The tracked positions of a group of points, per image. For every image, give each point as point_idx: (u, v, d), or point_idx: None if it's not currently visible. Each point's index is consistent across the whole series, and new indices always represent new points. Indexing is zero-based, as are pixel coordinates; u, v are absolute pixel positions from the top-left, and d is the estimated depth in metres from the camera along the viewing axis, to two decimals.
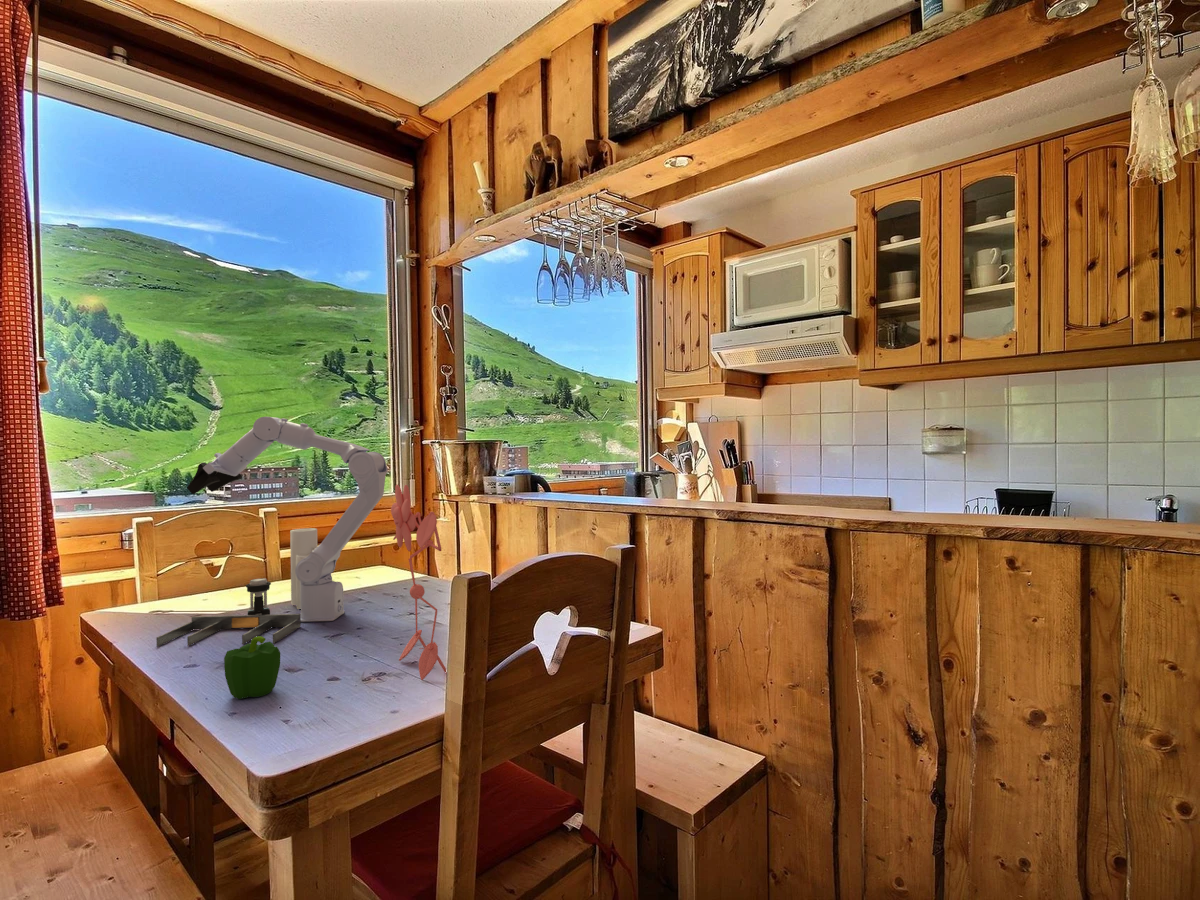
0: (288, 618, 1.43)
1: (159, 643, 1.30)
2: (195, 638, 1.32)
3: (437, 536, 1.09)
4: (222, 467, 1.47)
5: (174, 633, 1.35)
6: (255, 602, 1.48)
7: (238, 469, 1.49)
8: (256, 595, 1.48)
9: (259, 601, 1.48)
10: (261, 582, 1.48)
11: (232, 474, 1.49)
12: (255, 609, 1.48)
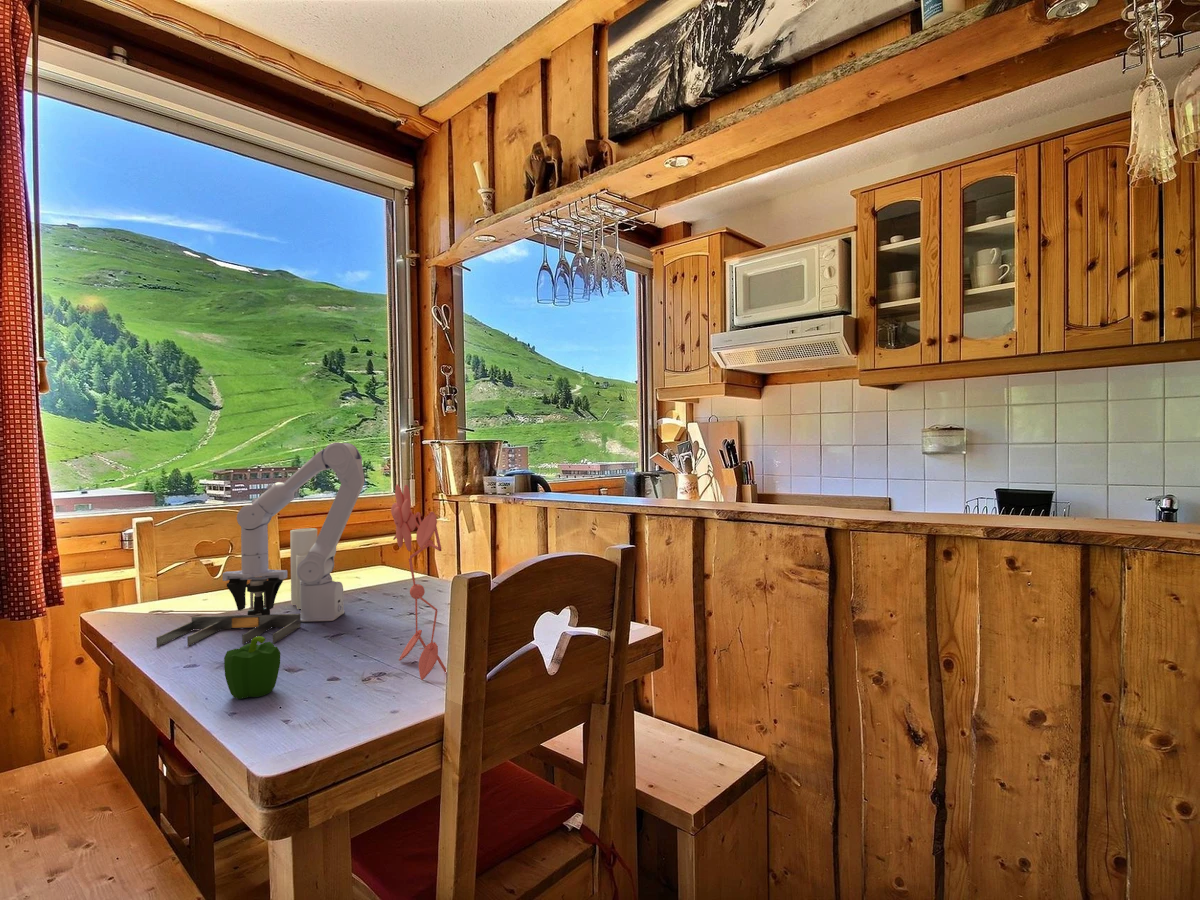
0: (288, 618, 1.43)
1: (159, 643, 1.30)
2: (195, 638, 1.32)
3: (437, 536, 1.09)
4: (269, 571, 1.49)
5: (174, 633, 1.35)
6: (255, 602, 1.48)
7: None
8: (256, 595, 1.48)
9: (259, 601, 1.48)
10: (261, 582, 1.48)
11: None
12: (255, 609, 1.48)
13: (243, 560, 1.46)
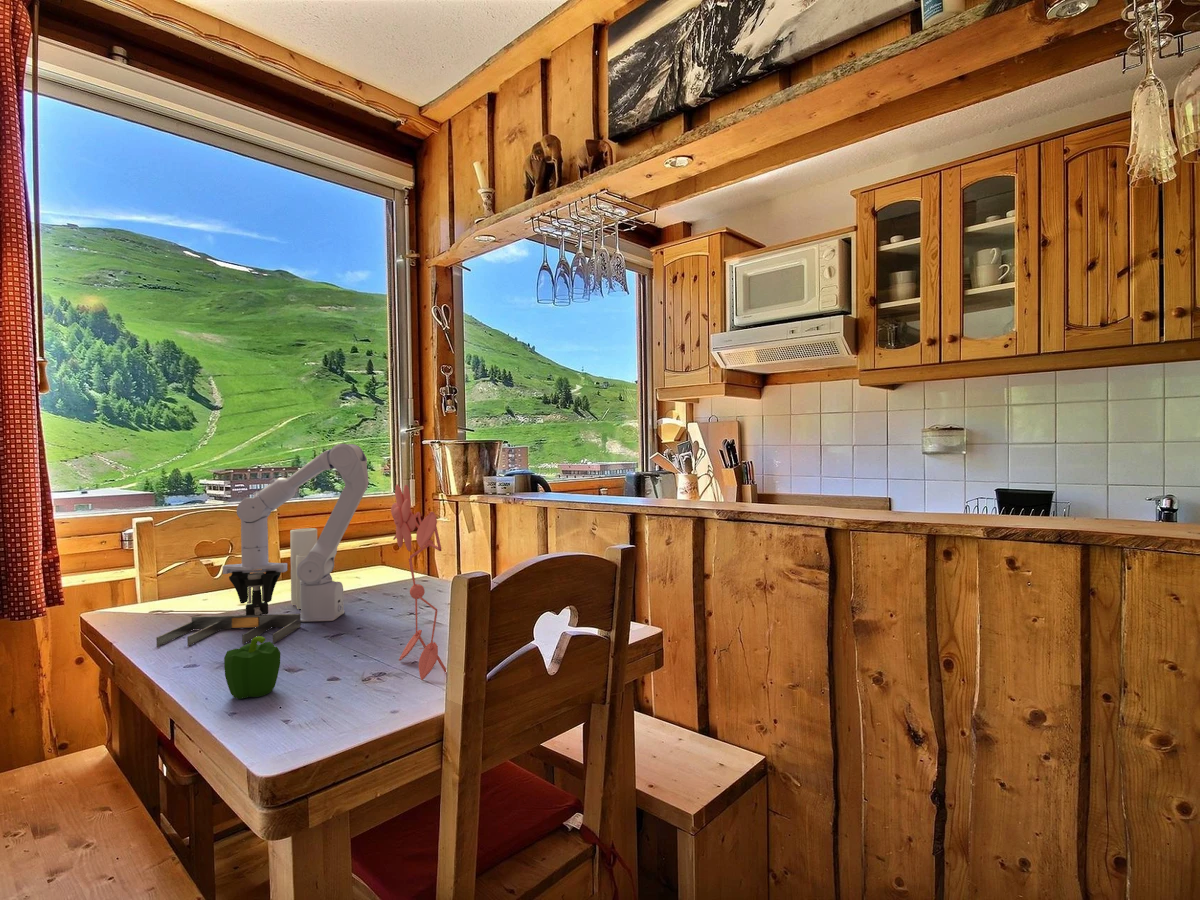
0: (288, 618, 1.43)
1: (159, 643, 1.30)
2: (195, 638, 1.32)
3: (437, 536, 1.09)
4: (269, 564, 1.49)
5: (174, 633, 1.35)
6: (253, 596, 1.48)
7: None
8: (254, 589, 1.48)
9: (257, 595, 1.48)
10: (259, 576, 1.48)
11: None
12: (253, 603, 1.47)
13: (243, 553, 1.46)
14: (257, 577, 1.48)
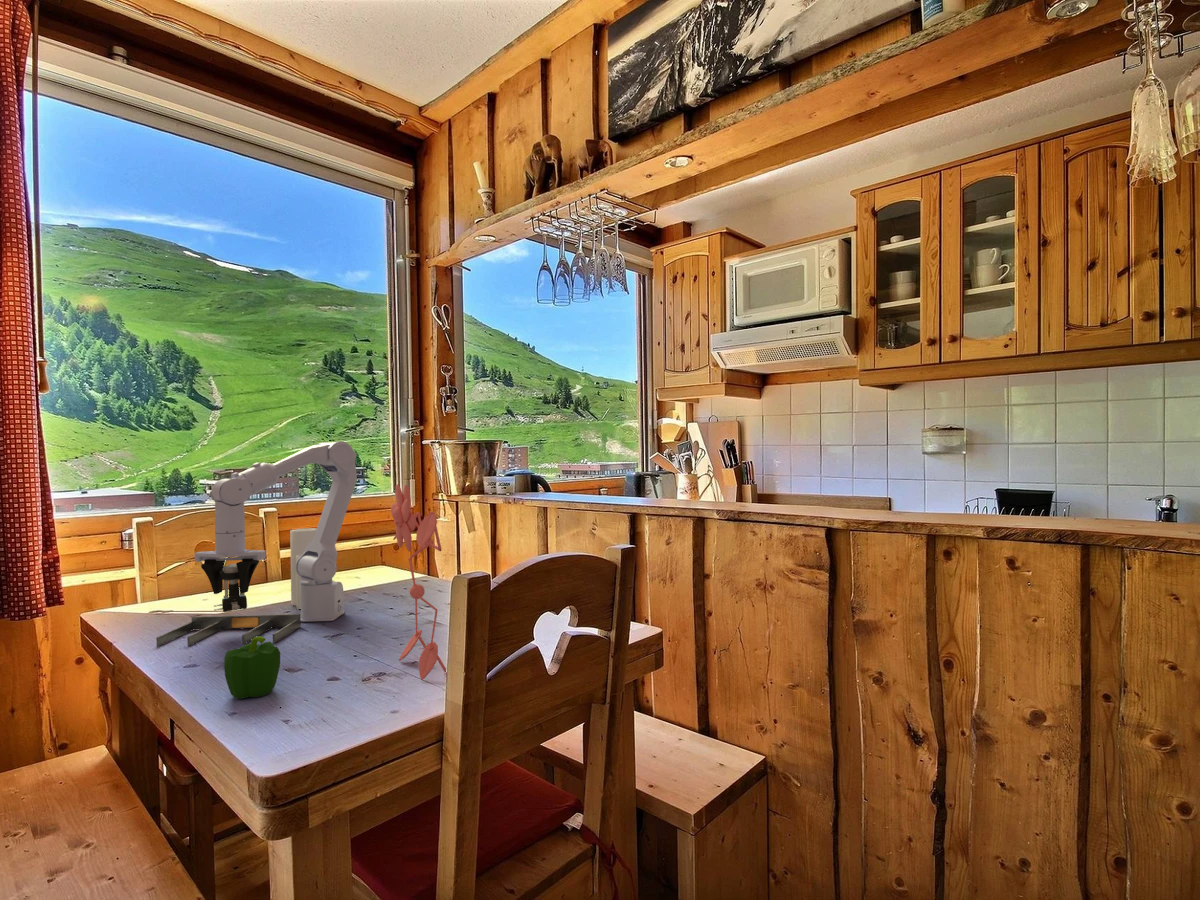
0: (288, 618, 1.43)
1: (159, 643, 1.30)
2: (195, 638, 1.32)
3: (437, 536, 1.09)
4: (245, 552, 1.37)
5: (174, 633, 1.35)
6: (230, 590, 1.37)
7: None
8: (231, 582, 1.37)
9: (234, 589, 1.37)
10: (236, 569, 1.36)
11: None
12: (230, 597, 1.36)
13: (217, 539, 1.34)
14: (234, 570, 1.36)
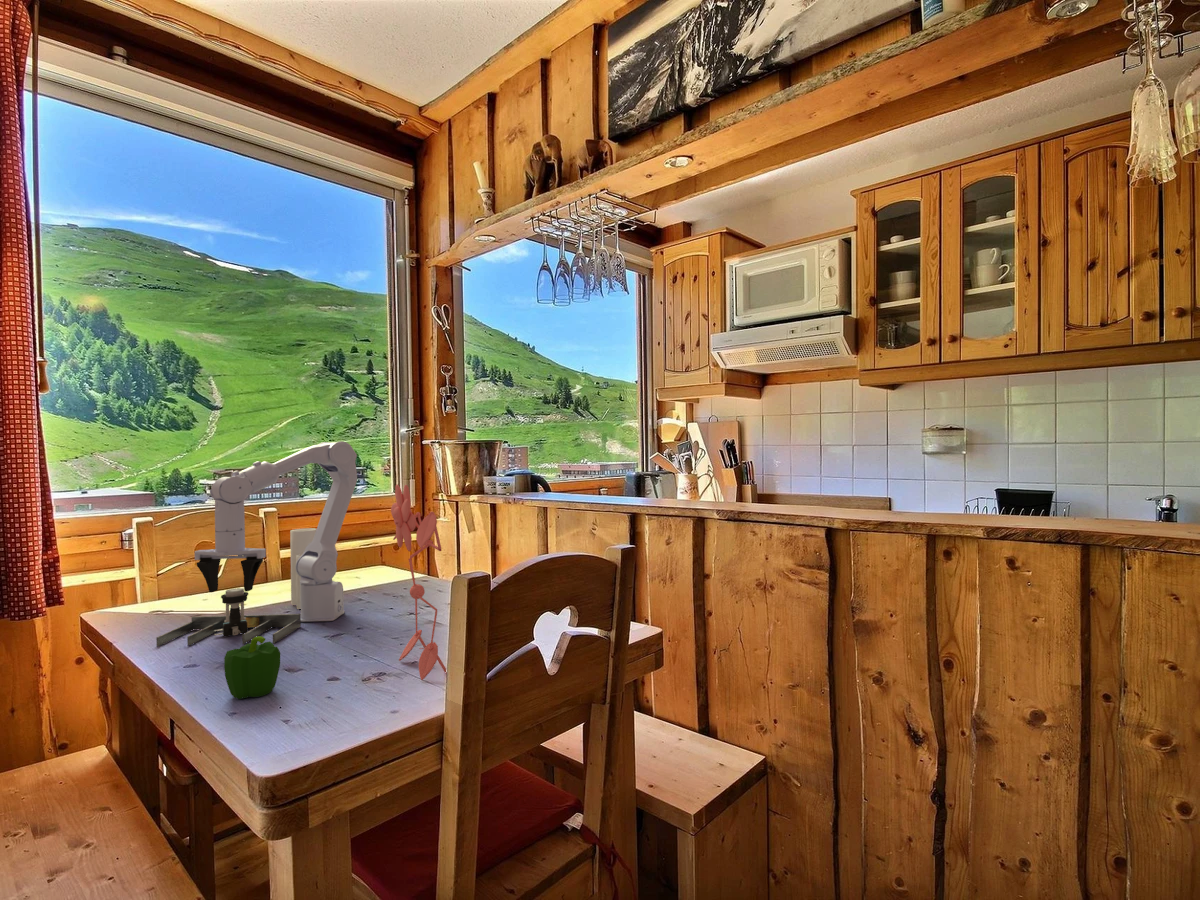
0: (288, 618, 1.43)
1: (159, 643, 1.30)
2: (195, 638, 1.32)
3: (437, 536, 1.09)
4: None
5: (174, 633, 1.35)
6: (231, 614, 1.37)
7: None
8: (232, 607, 1.37)
9: (235, 613, 1.37)
10: (238, 593, 1.37)
11: None
12: (231, 622, 1.37)
13: (217, 537, 1.34)
14: (236, 594, 1.37)
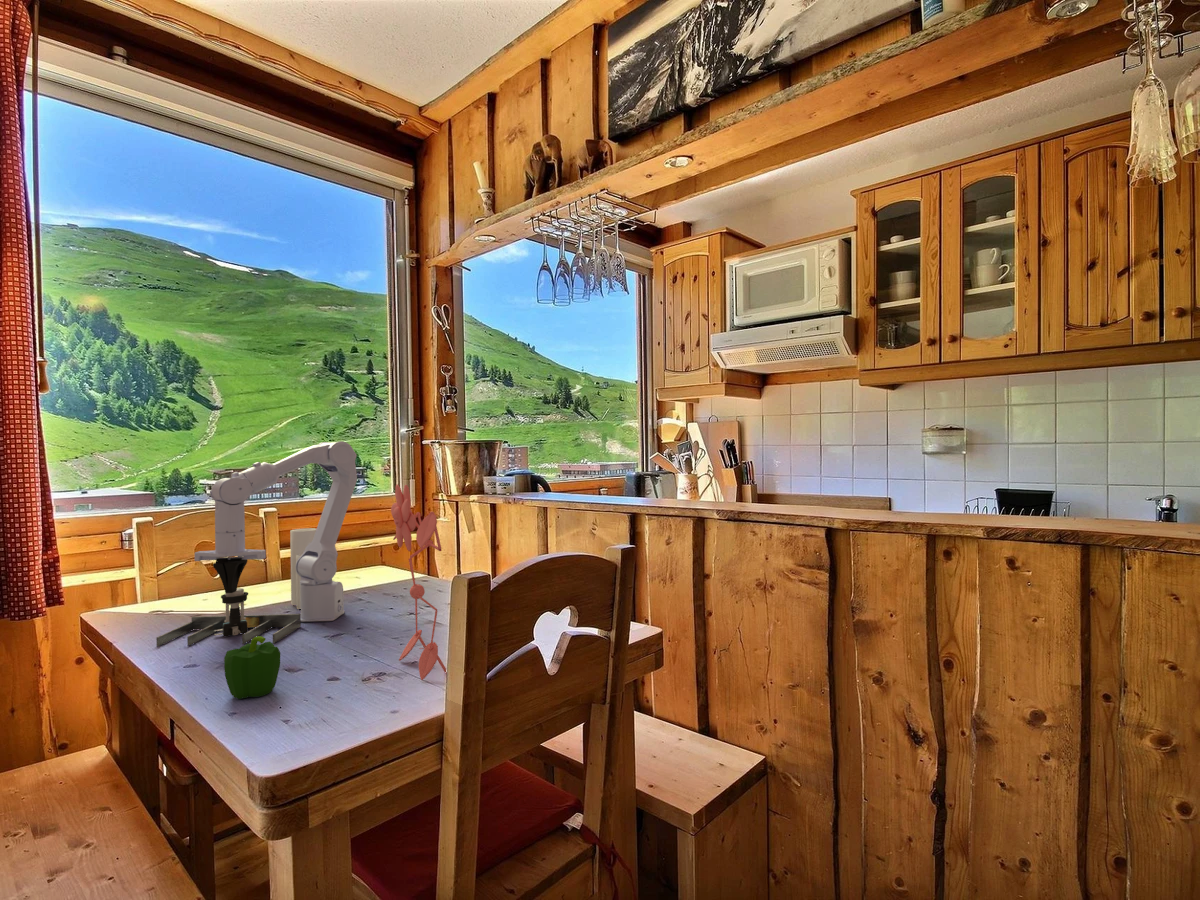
0: (288, 618, 1.43)
1: (159, 643, 1.30)
2: (195, 638, 1.32)
3: (437, 536, 1.09)
4: (245, 551, 1.37)
5: (174, 633, 1.35)
6: (231, 614, 1.37)
7: None
8: (232, 607, 1.37)
9: (235, 613, 1.37)
10: (237, 592, 1.37)
11: None
12: (231, 622, 1.37)
13: (217, 538, 1.34)
14: (235, 594, 1.37)
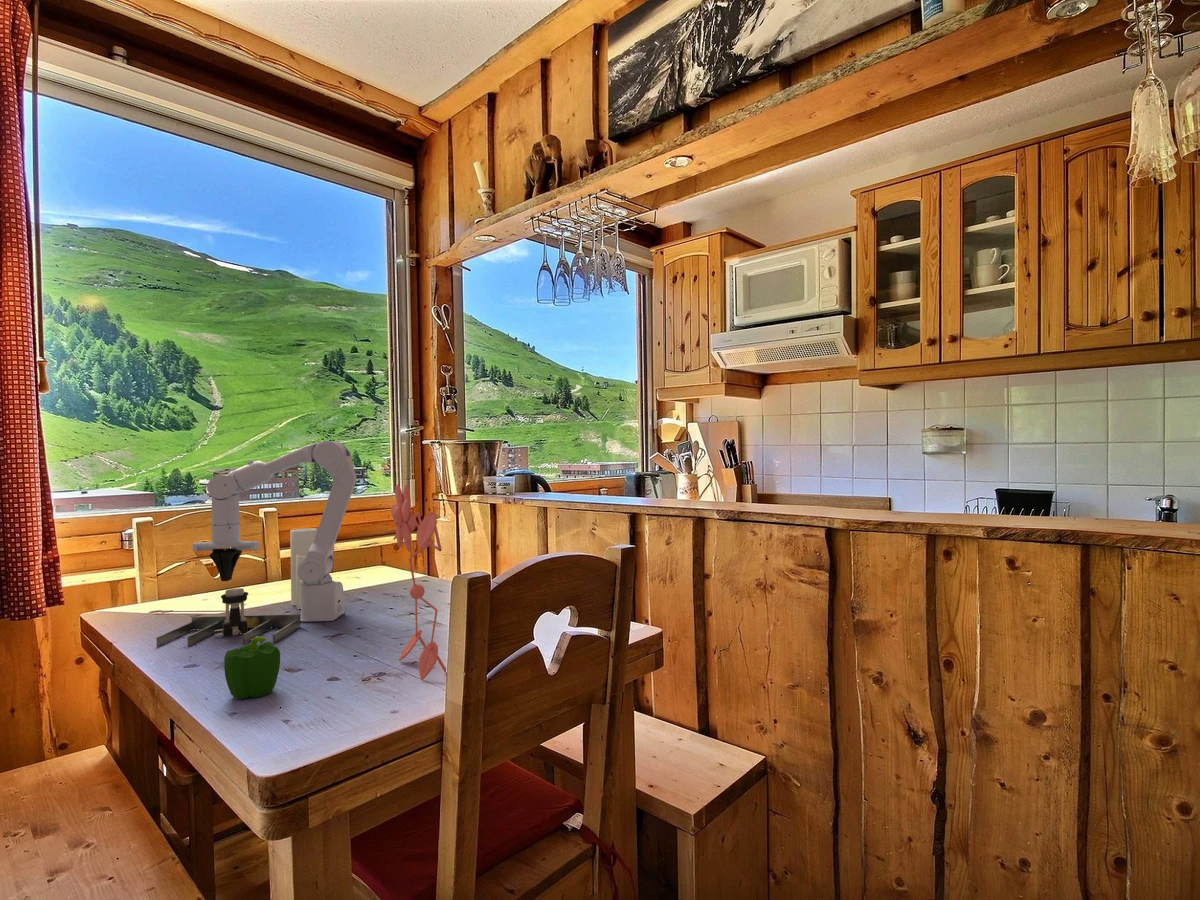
0: (288, 618, 1.43)
1: (159, 643, 1.30)
2: (195, 638, 1.32)
3: (437, 536, 1.09)
4: (240, 542, 1.47)
5: (174, 633, 1.35)
6: (231, 614, 1.37)
7: None
8: (232, 606, 1.37)
9: (235, 613, 1.37)
10: (237, 592, 1.37)
11: None
12: (231, 622, 1.37)
13: (213, 530, 1.44)
14: (235, 594, 1.37)
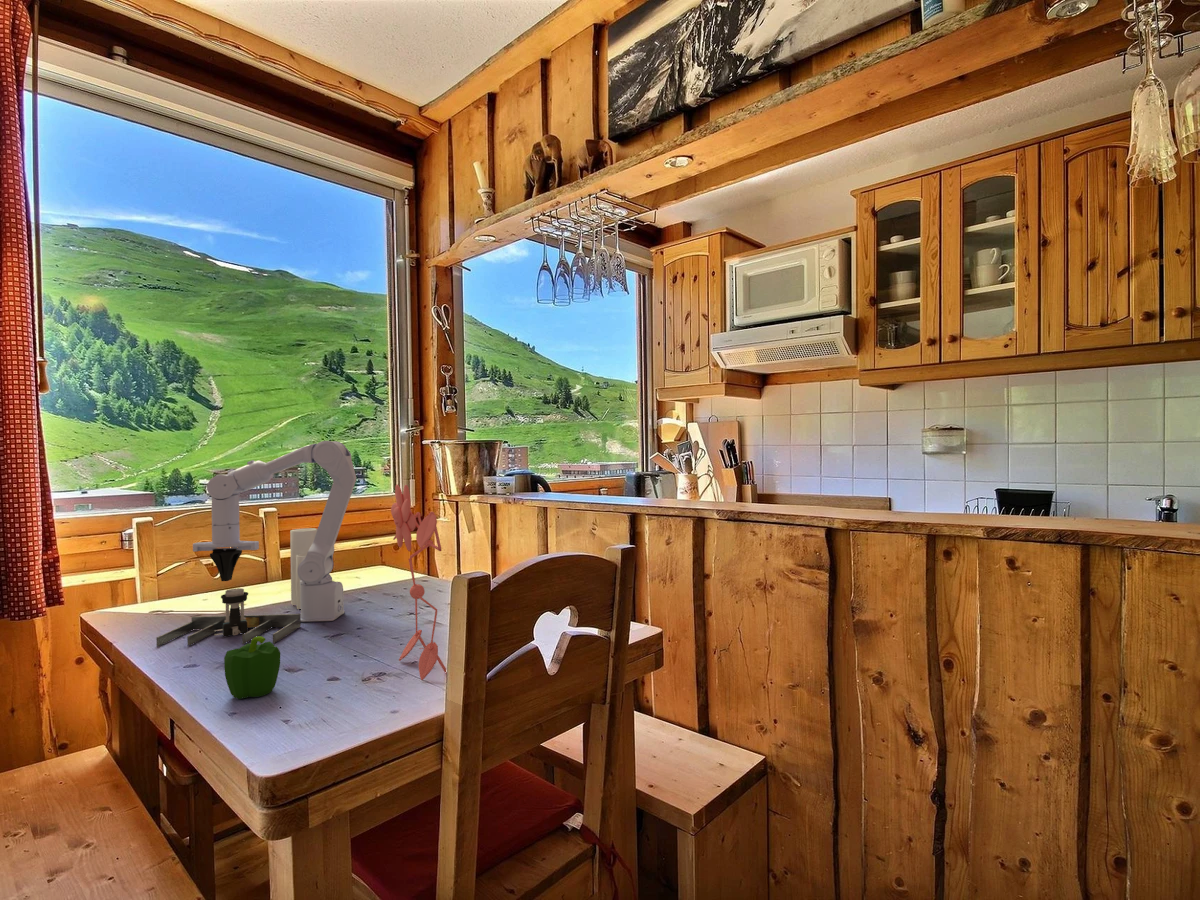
0: (288, 618, 1.43)
1: (159, 643, 1.30)
2: (195, 638, 1.32)
3: (437, 536, 1.09)
4: (240, 542, 1.48)
5: (174, 633, 1.35)
6: (231, 614, 1.37)
7: None
8: (232, 607, 1.37)
9: (235, 613, 1.37)
10: (237, 592, 1.37)
11: None
12: (231, 622, 1.37)
13: (213, 530, 1.44)
14: (235, 594, 1.37)
